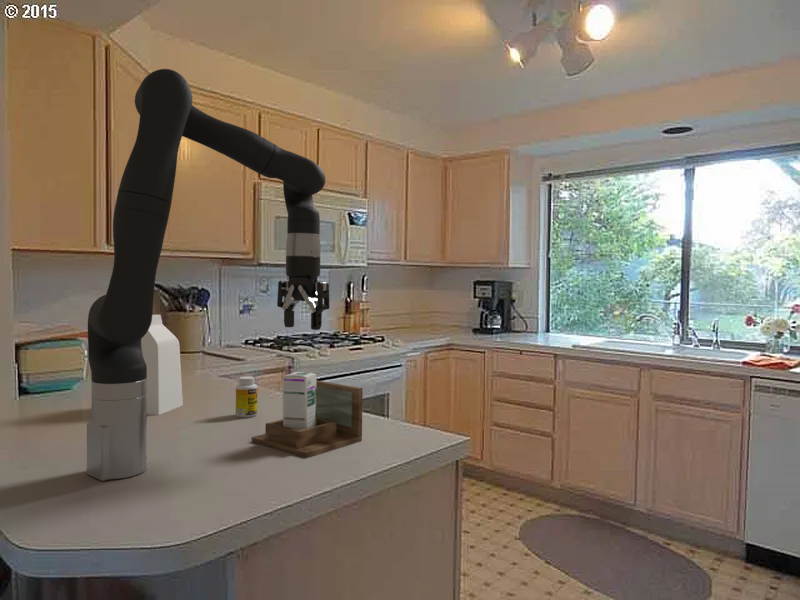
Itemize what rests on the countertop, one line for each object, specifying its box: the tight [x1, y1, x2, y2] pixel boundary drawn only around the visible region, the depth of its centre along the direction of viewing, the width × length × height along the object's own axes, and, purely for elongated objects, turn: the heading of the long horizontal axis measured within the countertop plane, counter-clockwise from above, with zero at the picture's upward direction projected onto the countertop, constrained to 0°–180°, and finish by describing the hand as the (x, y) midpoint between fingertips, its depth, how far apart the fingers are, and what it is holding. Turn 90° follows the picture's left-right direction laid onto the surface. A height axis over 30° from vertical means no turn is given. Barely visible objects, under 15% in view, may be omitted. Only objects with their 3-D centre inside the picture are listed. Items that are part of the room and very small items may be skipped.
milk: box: [141, 314, 184, 416], centre depth 158 cm, size 12×12×26 cm
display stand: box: [251, 379, 364, 459], centre depth 129 cm, size 17×18×12 cm
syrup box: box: [282, 371, 317, 430], centre depth 127 cm, size 6×6×14 cm
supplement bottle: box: [235, 375, 258, 419], centre depth 152 cm, size 6×6×10 cm
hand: (302, 328), depth 127 cm, fingers open, 8 cm apart
